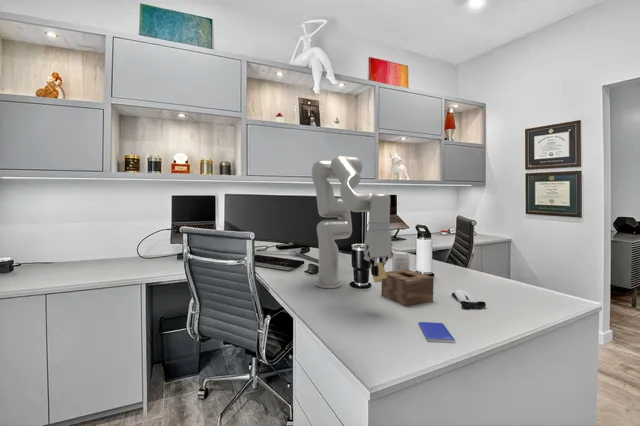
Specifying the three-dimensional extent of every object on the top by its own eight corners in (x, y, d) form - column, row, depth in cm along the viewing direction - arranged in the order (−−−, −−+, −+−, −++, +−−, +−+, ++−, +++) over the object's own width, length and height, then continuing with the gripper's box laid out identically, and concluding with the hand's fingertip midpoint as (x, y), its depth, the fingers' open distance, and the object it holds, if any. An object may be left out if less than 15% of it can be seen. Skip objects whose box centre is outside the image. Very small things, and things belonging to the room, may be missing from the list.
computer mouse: (466, 295, 140) (466, 286, 140) (488, 310, 122) (488, 300, 121) (443, 295, 140) (443, 286, 139) (462, 310, 122) (463, 300, 121)
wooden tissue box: (381, 295, 138) (381, 272, 138) (405, 290, 145) (406, 269, 144) (407, 306, 124) (408, 281, 124) (433, 301, 131) (433, 277, 130)
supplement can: (388, 282, 158) (389, 252, 157) (398, 279, 164) (398, 250, 163) (402, 286, 152) (403, 255, 151) (412, 282, 158) (412, 253, 157)
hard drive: (455, 339, 94) (443, 322, 106) (427, 338, 95) (418, 321, 107) (455, 344, 94) (443, 327, 106) (427, 343, 95) (418, 326, 107)
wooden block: (374, 282, 119) (369, 267, 122) (380, 281, 120) (375, 267, 123) (382, 278, 115) (376, 263, 118) (387, 277, 117) (382, 262, 119)
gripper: (389, 224, 125) (387, 270, 127) (355, 226, 118) (354, 275, 119) (402, 227, 119) (400, 275, 120) (367, 229, 111) (366, 280, 113)
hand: (377, 274), depth 120 cm, fingers closed on wooden block, 2 cm apart
